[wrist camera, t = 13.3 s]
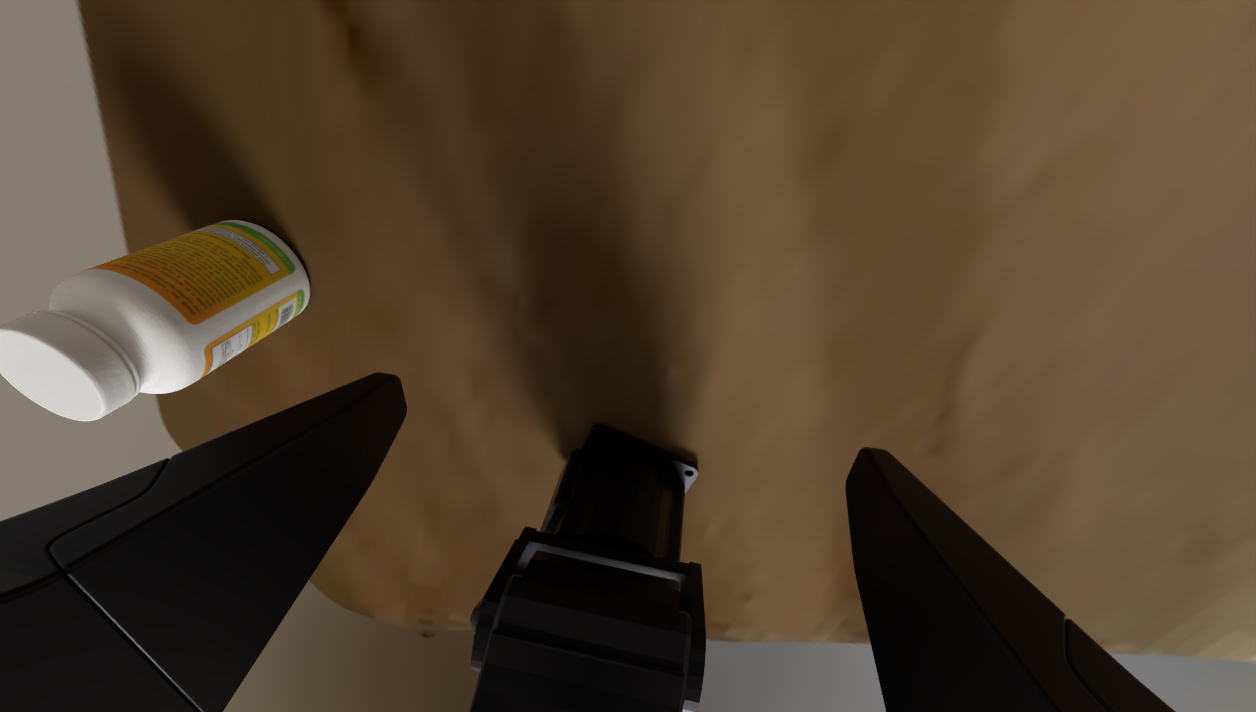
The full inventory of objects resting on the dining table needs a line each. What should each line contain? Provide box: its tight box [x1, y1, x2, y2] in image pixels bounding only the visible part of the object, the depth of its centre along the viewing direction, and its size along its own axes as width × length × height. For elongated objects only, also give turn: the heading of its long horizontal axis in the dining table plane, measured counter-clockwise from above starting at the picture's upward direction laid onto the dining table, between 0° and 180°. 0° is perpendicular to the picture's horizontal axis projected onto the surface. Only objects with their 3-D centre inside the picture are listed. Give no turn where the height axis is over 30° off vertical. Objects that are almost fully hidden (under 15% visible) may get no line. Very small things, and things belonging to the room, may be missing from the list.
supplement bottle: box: [0, 220, 310, 421], centre depth 21 cm, size 5×5×10 cm
